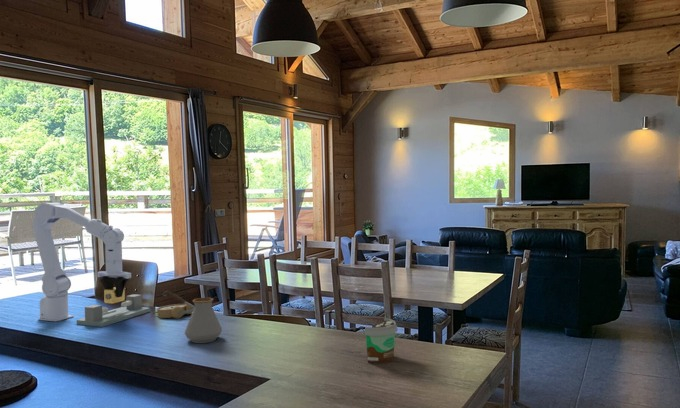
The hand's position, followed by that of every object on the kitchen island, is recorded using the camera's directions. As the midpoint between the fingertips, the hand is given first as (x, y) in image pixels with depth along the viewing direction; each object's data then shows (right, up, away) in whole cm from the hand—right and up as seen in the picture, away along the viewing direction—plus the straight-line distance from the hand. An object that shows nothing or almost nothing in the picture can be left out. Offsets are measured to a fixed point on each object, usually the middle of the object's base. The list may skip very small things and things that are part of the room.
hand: (114, 296), depth 189 cm
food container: (+98, -8, -52) cm, 111 cm away
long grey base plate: (0, -8, 0) cm, 8 cm away
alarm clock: (+22, -8, +3) cm, 24 cm away
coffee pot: (+38, -8, -28) cm, 48 cm away
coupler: (0, -2, 0) cm, 2 cm away
